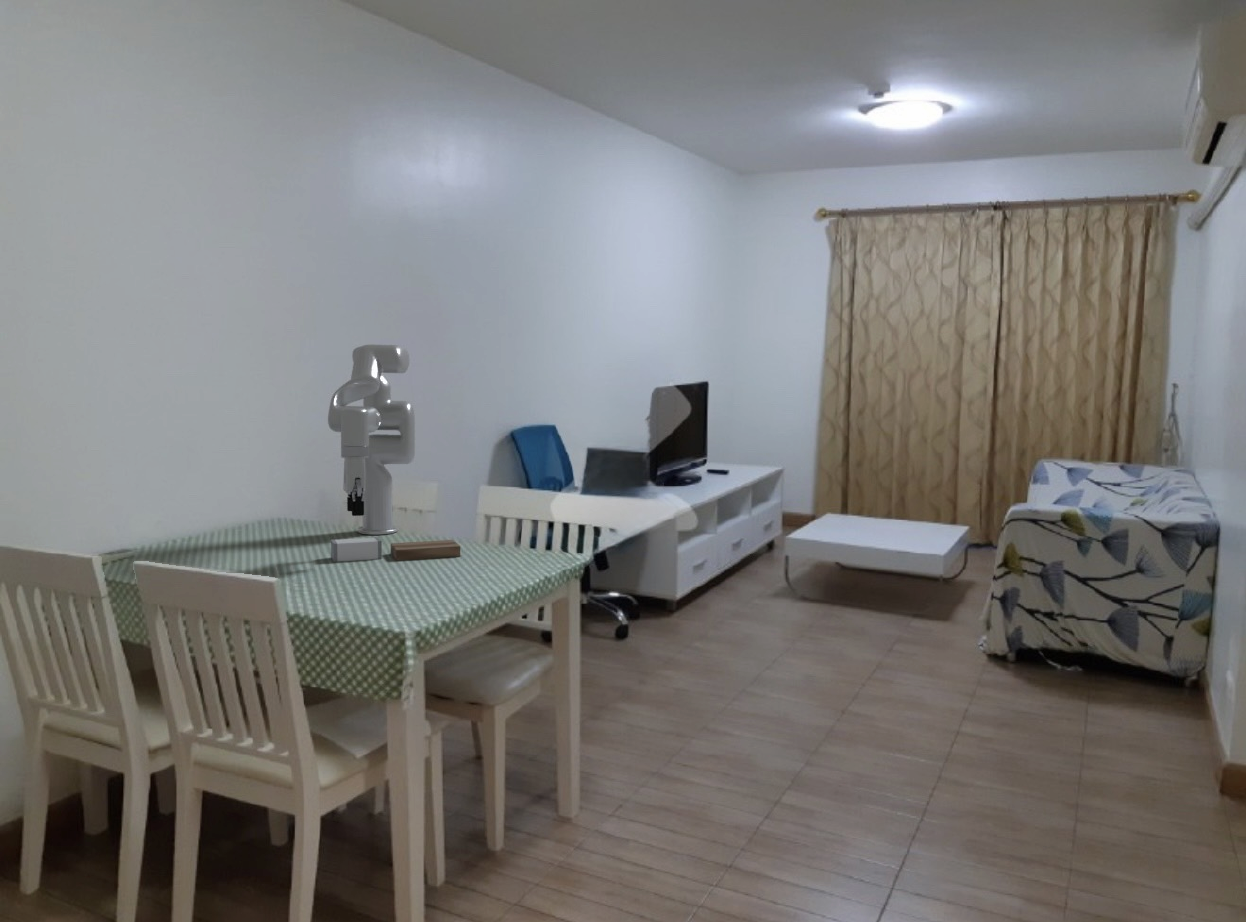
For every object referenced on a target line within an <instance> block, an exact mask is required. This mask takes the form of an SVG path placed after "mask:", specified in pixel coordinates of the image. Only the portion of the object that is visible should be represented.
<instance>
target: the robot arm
mask: <svg viewBox="0 0 1246 922" xmlns="http://www.w3.org/2000/svg"><path fill="white" fill-rule="evenodd" d="M352 362H353V365H352V370H351V375H350V377H351V378H350V379H349V380H348V381H347V382H345V383H343V384H342V385H341V386H339V388H338V389H336V390H335V392H334V393H333V395H332V396H331V399H330V402H329V403H330V404H329V406H328V407H329V409H328V414H327V424H328V427H329V429H330V430H331V431H333V432H335V433H340V457H341V458H342V459H344V461H343V462H344V463H343V491H344V492H345V493H347V497H346V498H347V499H346V507H347V508H346V509H347V512H351V515H352V517H358V516H359V517H360V516H361V517H362V520H361V521H362V523H361V524H362V525H361V526H360V527H357V533H358V534H362V535H368V536H369V535H372V536H374V535H375V536H376V535H379V536H380V535H391V534H394V533H396V532H398V526H395V525H394V524H393V523H394V521H393V512H394V511H393V510H394V509H393V477H392V476H393V475H392V474H391V473H390V471H389V470H388V468H386V466H385V465H408V464H411V463H412V462H413V461H414V458H415V453H416V445H415V444H416V443H415V440H416V437H415V436H416V435H415V432H416V429H415V422H416V421H415V410H414V407H413V405H412V404H411V403H410V401H409V402H408V401H404V400H392V397H391V396H392V395H391V391H392V390H391V388H392V387H391V383H390V382H389V380H388V379H387V378H386V376H385V375H384V374H405V373H406V372H408V369H409V367H410V355H409V351H408V350H407V348H406V347H405V346H402V345H397V344H364V345H361V346H358V347H355V348H354V349H353V351H352ZM361 400H363V401H362V402H363V404H362V405H360V406H358V405H349V404H351V403H354V402H357V401H361ZM376 431H398V432H399V433H400V434H387V433H386V434H379V433H378V434H370V433H374V432H376Z"/></svg>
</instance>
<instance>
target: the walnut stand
mask: <svg viewBox="0 0 1246 922" xmlns="http://www.w3.org/2000/svg"><path fill="white" fill-rule="evenodd" d="M390 555H391V556H392V557H393V558H394V559H395V561H408V560H409V561H413V560H422V559H423V560H427V559H441V558H443V559H445V558H457V557H461V545H460V544H458V543H457V542H456V541H454V540H453V539H449V540H448V539H444V540H426V541H411V542H408V541H407V542H394V543H393V542H392V543H390Z"/></svg>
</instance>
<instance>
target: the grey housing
mask: <svg viewBox="0 0 1246 922" xmlns="http://www.w3.org/2000/svg"><path fill="white" fill-rule="evenodd" d="M382 542H383V541H382V540H381V539H380V538H379V537H378V536H376V537H361V538H340V539H331V540H330V558H331V560H332V561H333V563H338V562H348V561H349V562H353V561H367V560H382V559H383V557H382V553H383V552H382V550H383V549H382Z"/></svg>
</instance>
